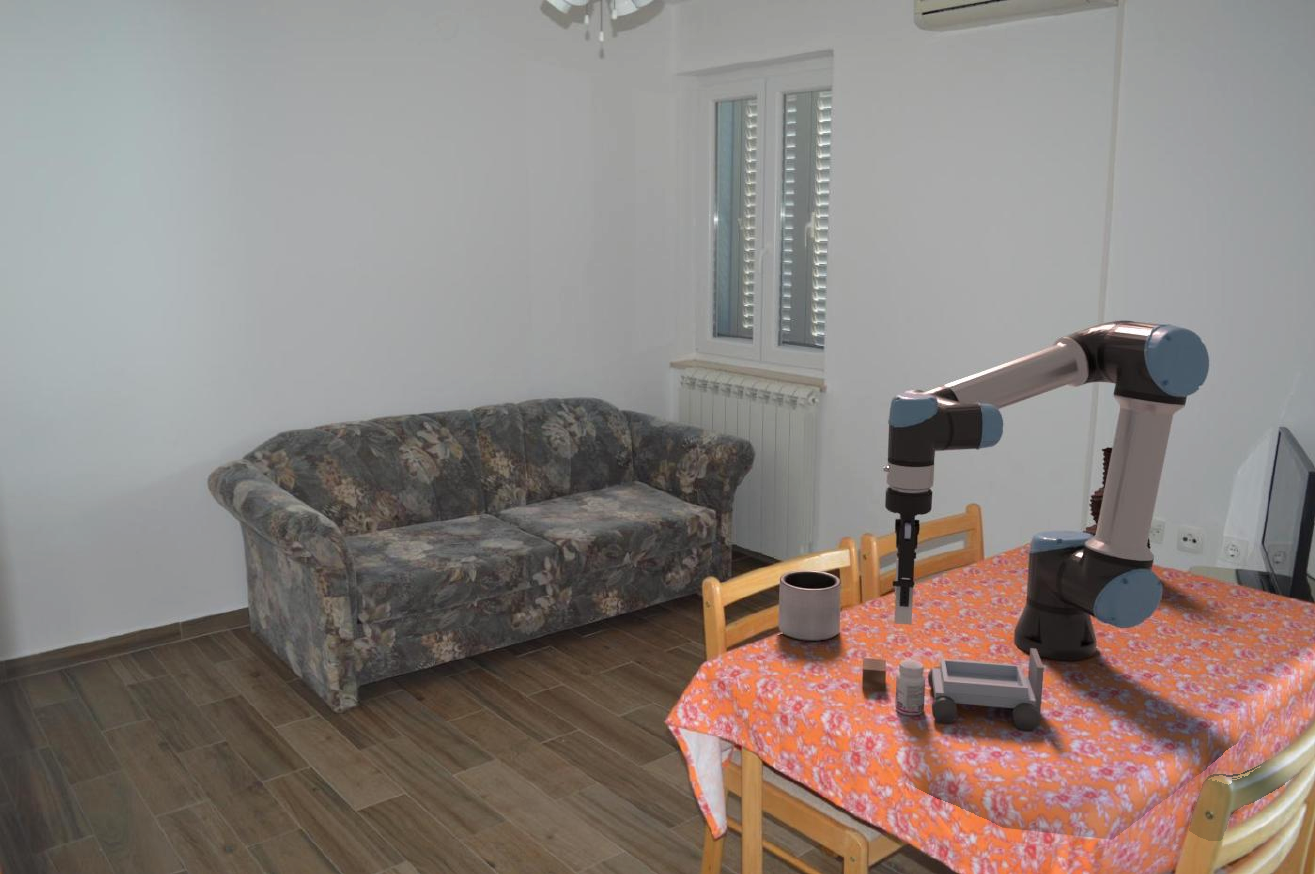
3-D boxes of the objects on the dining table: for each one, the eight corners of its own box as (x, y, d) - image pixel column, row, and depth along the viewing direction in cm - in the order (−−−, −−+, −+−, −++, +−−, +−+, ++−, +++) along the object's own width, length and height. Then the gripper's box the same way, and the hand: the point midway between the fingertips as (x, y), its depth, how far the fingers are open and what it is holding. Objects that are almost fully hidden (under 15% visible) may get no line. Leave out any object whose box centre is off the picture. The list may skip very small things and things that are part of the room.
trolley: (1029, 695, 180) (1033, 641, 178) (1042, 732, 166) (1046, 675, 164) (927, 686, 183) (930, 634, 181) (931, 722, 170) (934, 666, 168)
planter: (825, 648, 200) (827, 594, 198) (767, 635, 207) (768, 582, 205) (849, 627, 211) (851, 576, 209) (793, 615, 217) (794, 565, 215)
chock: (884, 680, 186) (885, 659, 185) (885, 691, 181) (885, 670, 181) (862, 678, 187) (863, 657, 186) (862, 689, 182) (862, 669, 181)
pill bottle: (891, 704, 176) (893, 658, 175) (918, 702, 177) (920, 657, 175) (900, 716, 172) (902, 670, 170) (927, 715, 172) (930, 669, 171)
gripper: (887, 469, 181) (881, 582, 186) (884, 504, 158) (878, 634, 162) (930, 471, 180) (924, 586, 184) (935, 508, 156) (927, 638, 160)
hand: (902, 608), depth 173 cm, fingers open, 13 cm apart
